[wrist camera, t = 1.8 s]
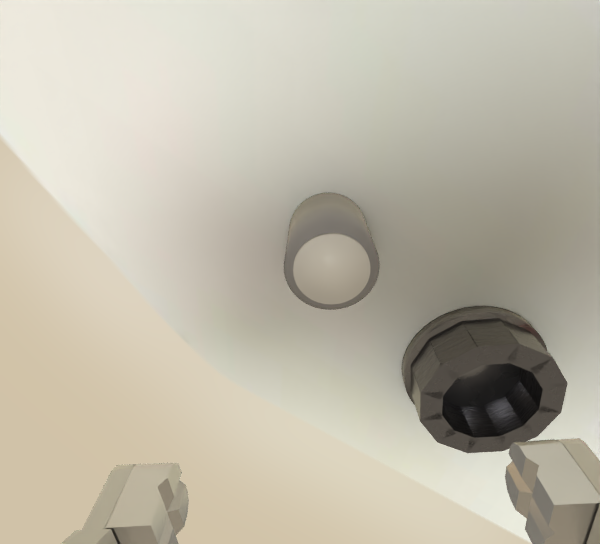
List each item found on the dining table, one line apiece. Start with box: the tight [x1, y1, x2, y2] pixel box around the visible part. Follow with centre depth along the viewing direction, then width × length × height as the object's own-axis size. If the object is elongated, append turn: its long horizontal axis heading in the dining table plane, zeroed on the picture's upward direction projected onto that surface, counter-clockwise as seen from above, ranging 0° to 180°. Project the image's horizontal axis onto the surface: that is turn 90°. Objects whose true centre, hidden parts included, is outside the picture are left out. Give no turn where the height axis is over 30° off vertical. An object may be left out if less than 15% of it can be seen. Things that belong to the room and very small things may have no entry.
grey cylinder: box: [284, 193, 379, 310], centre depth 24 cm, size 5×5×6 cm
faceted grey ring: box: [402, 306, 567, 453], centre depth 29 cm, size 10×10×4 cm
